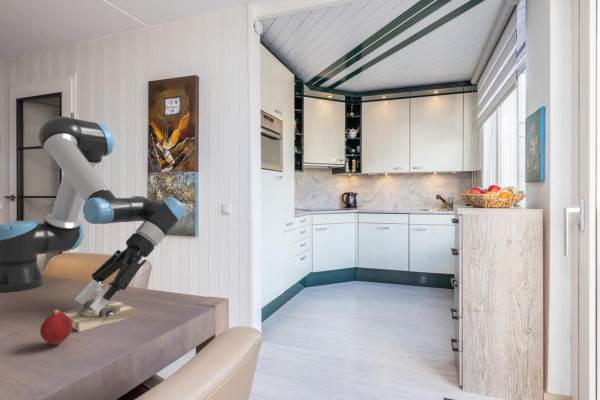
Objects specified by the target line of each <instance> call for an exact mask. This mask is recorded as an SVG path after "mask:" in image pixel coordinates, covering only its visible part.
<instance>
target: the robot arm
mask: <svg viewBox="0 0 600 400" xmlns="http://www.w3.org/2000/svg"><path fill="white" fill-rule="evenodd" d="M114 141H115V140H114V136H113V133H112V131H111V129H110V128H109V127H108V126H106V125H104V124H102V123H101V124H100V123H97V122H94V121H88V120H84V119H83V120H82V119H77V118H72V117H68V116H55V117H52V118H50V119H47V120H46V121H45V122H43V124H42V125H41V127H40V128H39V131H38V143H39V144H40V147H41V149H42V150H43V151H44V153H45V154H46V155H47V156H49V157H52V158H53V159H54V160H55V162H56V163H57V165H58V166H59V168H60V169H61V170H62V172H63V175H62V178H61V182H60V185H59V188H58V191H57V195H56V198H55V202H54V205H53V207H52V211H51V213H49V214H47V215H46V216H45V218H44V220H43V222H42V223H39V222H38V220H35V219H24V220H16V221H9V222H5V223H2V224H0V293H8V292H9V293H10V292H19V291H24V290H25V291H26V290H29V289H33V288H36V287H37V288H38V287H39V286H41V285H43V284H44V278H43V274H42V272H41V269H40V267H39V265H38V255H45V254H51V253H52V254H53V253H59V252H60V253H61V252H63V253H64V252H68V251H72V250H75V249H77V248H78V247H79V246H80V245H81V244H82V242H83V239H84V235H85V233H84V226H83V225H82V223H81V220H80V219H79V215H80V211H81V209H82V214H83V218H84V219H85V221H86V222H88V224H93V225H98V224H99V225H107V224H116V223H117V224H118V223H130V222H131V223H132V222H142V223H141V225H139V226H138V228H137V229H136V230H135V233H132V235H131V236H130V237H128V238H127V240H126V241H125V244H126V246H127V247H126V248H125V249H123V250H122V251H121V250H120V249H117V250H116V251H115V252H114V253H113V255H112V256H111V257H109V258H108V259H107V260H106V261H105V262H104V263H103V264H101V266H99V267H98V268H97V269H96V270H95V271H94V272H93V273H92V274H91V277H92V279H91V281H89V282H88V284H87V285H86V286H85V287H84V289H82V290H81V292H79V294H77V296H76V297H75V298H74V300H75V301H77V302H78V303H79V304H81V305H82V306H84V304H85V303H86V302H87V301H89V300H90V298H91V297H92V296H93V295H94V294H95V293H96V289H97V288H98V286H96V284H98V282H101V284H103V285H104V283H103V282H105V281H106V280H107V279H108V278H110V277H111V276H112V275H113V274H114V273H116V272H117V271H118V272H117V273H116V275H115V277H114V279H113V281H110V282H109V283H108V285H107V286H106V287H105V288H104V290H103V292H102V293H101V294H100V295H99V296H98V297H97V296H96V297H97V298H96V299H94V300H95V301H94V302H93V303H92V304H91V305H90V306H89V307H91V308H92V309H93V310H95V311H96V312H98V313H99V312H100V310H101V309H102V308H103V307H104V306H105V305H106V303H107V302H110V300H111V299H112V297H113V296H115V294H116V293H117V292H119V291H125V290H126V289H127V288H128V286H129V285H130V283H131V281H132V280H133V278H135V276H136V274H137V273H138V272H139V270H140V269H141V267H142V266H143V265H144V264H145V263H146V262H147V260H146V259H145V258H147V257H149V256H150V255H151V254H152V252H153V251H154V250H155V247H157V246H158V245H159V243H161V242H162V240H163V239H164V237H166V236H167V234H168V233H169V232H170V231H171V230H172V229H173V227H174V226H176V224H177V223H178V222H179V221H180V219H181V218H182V217H183V216H184V214H185V213H186V209H185V206H184V205H183V203H181V201H179V200H178V199H176V198H175V197H173V196H168V197H166V198H165V199H163V200H162V202H161V201H157V200H155V199H151V198H147V197H145V196H140V195H132V196H131V197H116V196H115V195H114V193H113V192H112V191H111V190H110V188H109V187H108V186H107V184H106V183H105V181H104V180H103V179H102V177H100V175H99V174H98V173H97V171H96V170H95V166H96V165H98V164H100V163H102V160H103V157H107V156H109V155H111V154H112V152H113V150H114V146H115V144H114V143H115V142H114ZM83 202H84V203H83ZM82 206H83V207H82Z"/></svg>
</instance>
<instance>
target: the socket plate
mask: <svg viewBox="0 0 600 400" xmlns="http://www.w3.org/2000/svg"><path fill="white" fill-rule="evenodd" d="M95 300H96V299H92V300H87V301H86V303H85V304H84V305H83V307H81V308H78V309H73V310H68V311H64V312H62V313H63V314H65V315H67V316H68V317H69V318H70V320H71V321H72V329H75V331H77V332H79V333H80V332H83V331H84V332H85V331H88V330H91V329H95V328H98V327H102V326H105V325H110V324H113V323H117V322H120V321H124V320H127V319H130V318H131V319H132V318H135V317H136V316H137V315H136V313H137V312H136V311H137V309H136V308H134V307H132V306H130V305H128V304H125V303H122V302H120V301H117V300H112V301H108V302H107V303H106V305H105V306H104V307H103V309H101V310H100V312H99V315H93V314H95V312H96V311H95V310H93V309H92V308H91V307H89V306H90V305H91V304H92V303H93V302H94V301H95ZM108 311H109V312H111V313H113V316H110V315H108V314H107V312H108Z"/></svg>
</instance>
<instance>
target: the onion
mask: <svg viewBox="0 0 600 400" xmlns="http://www.w3.org/2000/svg"><path fill="white" fill-rule="evenodd" d="M72 331H73V328H72V321H71V320H70V318H69V317H68V316H67V315H65V314H63V312H61V311H60V310H58V309H55V310H53V311H52V314H50V315H49V316H48V317H47V318H45V320H44V321H43V323H42V324H41V326H40V330H39V333H40V337H41V338H42V340H43V341H45V342H47V343H49V344H51V345H53V346H59V345H61V344H62V343H63V342H64V341H65V340H66V339H67V338H68V337H69V336H70V334H71V332H72Z"/></svg>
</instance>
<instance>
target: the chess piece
mask: <svg viewBox="0 0 600 400" xmlns="http://www.w3.org/2000/svg"><path fill="white" fill-rule="evenodd" d="M96 286H98V288H97V289H96V291H95V293H96V296H95V298H94V300H96V298H97V297H98V296H99V295H100V294H101V293H102V292H103V290H104V289H105V288H104V283H103V284H101V282H98V284H96ZM102 309H103V308H102ZM93 315H99V313H98V312H95V314H93Z"/></svg>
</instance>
